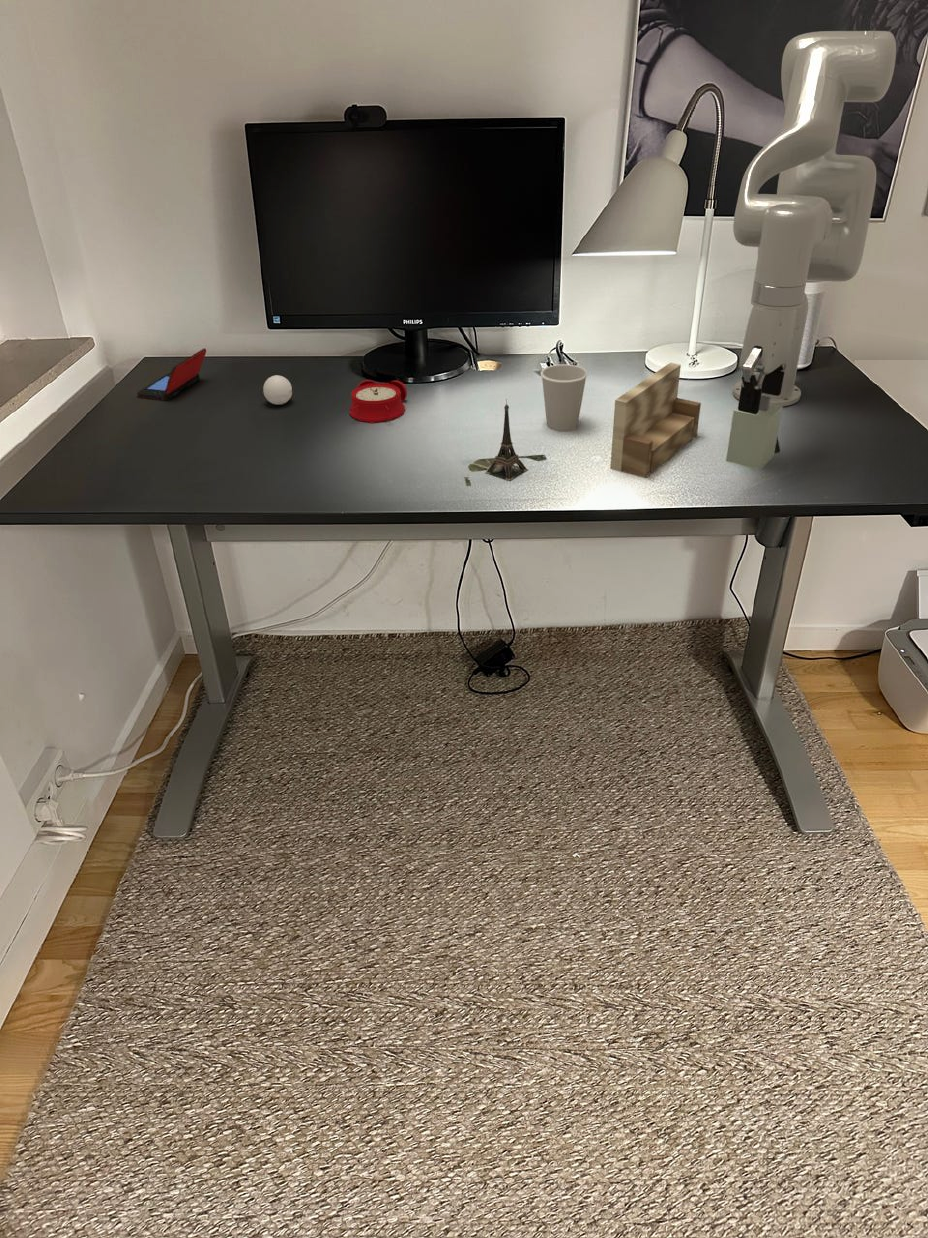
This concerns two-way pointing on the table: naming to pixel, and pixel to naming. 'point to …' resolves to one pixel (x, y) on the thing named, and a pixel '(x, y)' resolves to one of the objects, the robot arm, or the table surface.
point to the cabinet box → (754, 435)
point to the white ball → (277, 390)
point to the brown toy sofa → (652, 423)
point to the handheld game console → (175, 379)
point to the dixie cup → (563, 395)
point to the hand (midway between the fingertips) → (759, 402)
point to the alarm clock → (378, 401)
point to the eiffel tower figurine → (503, 458)
